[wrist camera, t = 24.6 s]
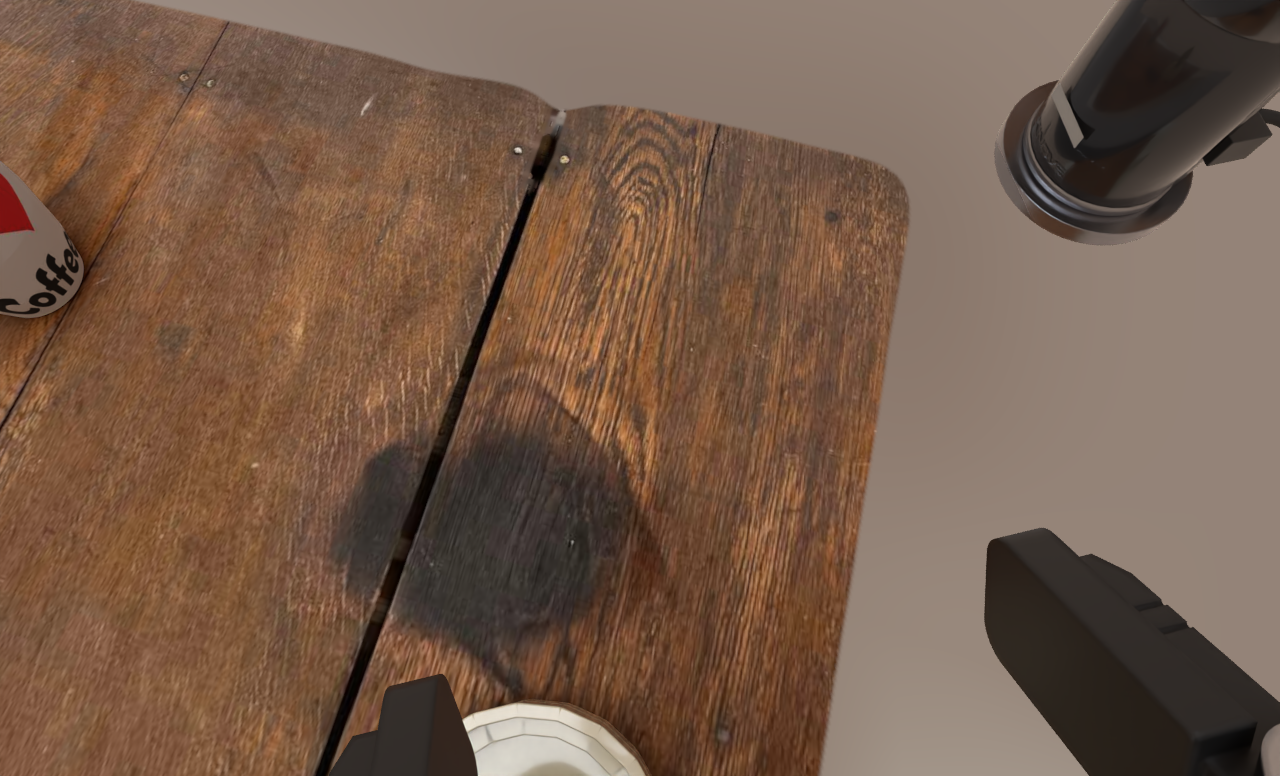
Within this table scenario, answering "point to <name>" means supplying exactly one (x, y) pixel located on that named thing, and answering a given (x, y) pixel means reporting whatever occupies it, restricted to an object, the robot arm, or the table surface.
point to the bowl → (549, 742)
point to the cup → (33, 253)
